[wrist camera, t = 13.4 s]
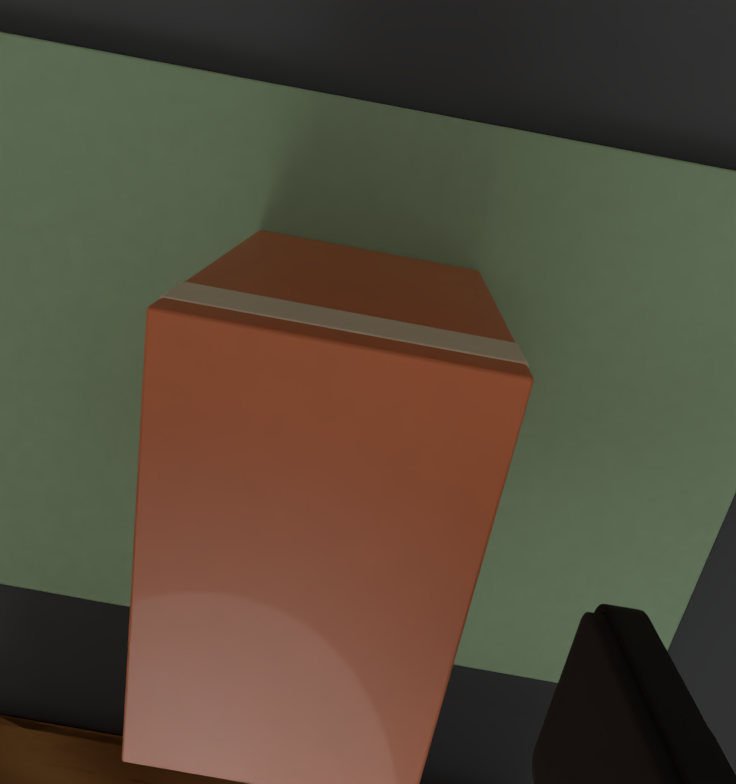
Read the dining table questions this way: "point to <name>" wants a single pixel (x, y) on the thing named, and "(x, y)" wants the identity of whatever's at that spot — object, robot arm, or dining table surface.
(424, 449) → the block
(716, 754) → the robot arm
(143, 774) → the wooden tray
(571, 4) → the dining table surface
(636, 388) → the mat
